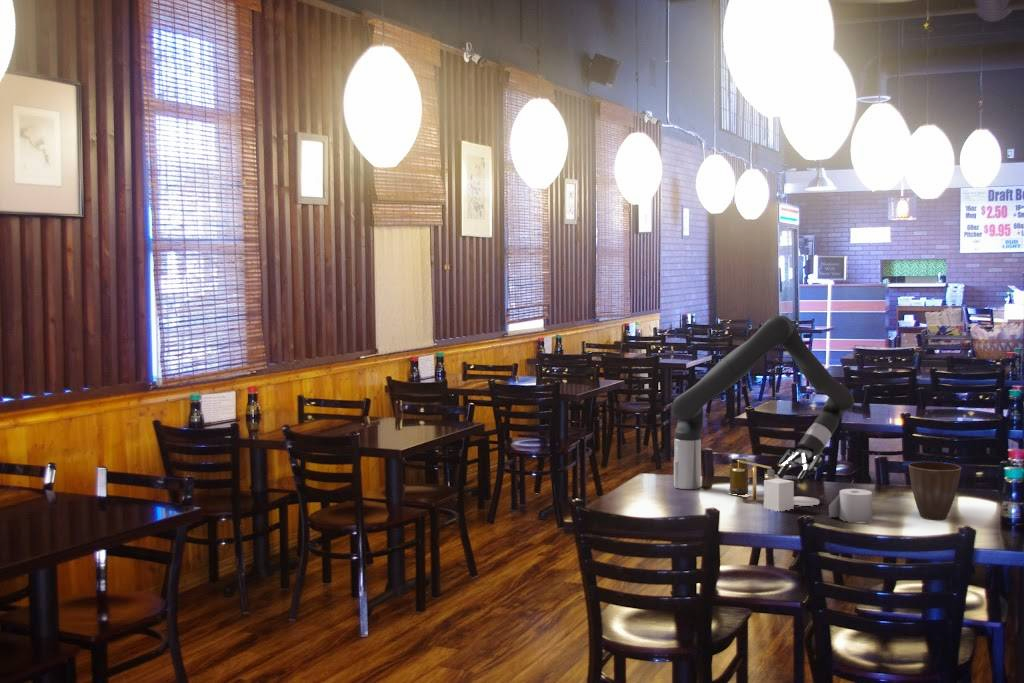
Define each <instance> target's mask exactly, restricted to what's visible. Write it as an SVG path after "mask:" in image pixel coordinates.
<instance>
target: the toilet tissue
mask: <svg viewBox="0 0 1024 683" xmlns="http://www.w3.org/2000/svg"><path fill="white" fill-rule="evenodd" d="M831 517H833V518H839V520H840V519H841V520H843V522H845V521H848V522H847V523H850V522H869V521H871V520H872V521H873V492H872V491H871V490H868V489H859V488H844V489H843V488H842V489H841V490H839V494H838V495H837V496H836V497H835V498H834V499H833V501H831V502H830V504H829V505H828V518H829V519H832V518H831ZM841 520H840V521H841ZM872 521H871V522H872ZM869 523H870V522H869Z"/></svg>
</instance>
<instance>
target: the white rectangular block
mask: <svg viewBox="0 0 1024 683" xmlns="http://www.w3.org/2000/svg"><path fill="white" fill-rule="evenodd" d="M794 485H795V482H794V481H793V480H789V479H784V478H782V479H781V478H779V477H777V478H776V479H764V480H763V497H764V503H763V509H766V510H769V509H770V511H773V510H774V511H773V512H777V511H778V513H779V511H781V512H786V511H785V510H787V511H791V510H790V509H793V510H794V509H795V508H794V507H795V506H794V497H795V496H794V495H795V493H794V492H795V491H794V490H795V488H794V487H795V486H794Z"/></svg>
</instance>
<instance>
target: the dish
mask: <svg viewBox="0 0 1024 683" xmlns="http://www.w3.org/2000/svg"><path fill="white" fill-rule="evenodd" d="M818 504H819V505H820V499H818V498H816V497H810V496H809V497H808V496H797V495H796V496H794V505H799V506H798V507H801V506H811V507H814V506H813V505H817V506H819V505H818Z"/></svg>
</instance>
